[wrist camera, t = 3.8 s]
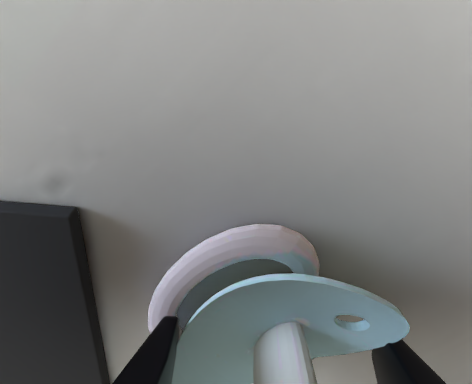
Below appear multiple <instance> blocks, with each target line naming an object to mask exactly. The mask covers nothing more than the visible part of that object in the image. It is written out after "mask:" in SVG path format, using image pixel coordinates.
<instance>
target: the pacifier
mask: <svg viewBox="0 0 472 384" xmlns="http://www.w3.org/2000/svg"><path fill="white" fill-rule="evenodd" d="M251 259H272V260H275V261H278V262H281V263H283V264H286V265H287V266H288V267H289V268H290V269H291V270H292V271H293V272H294V273H291V274H269V275H262V276H257V277H253V278H249V279H246V280H243V281H240V282H237V283H235V284H233V285H230V286H228V287H227V288H225V289H223V290H221V291H220V292H218V293H216V294H215V295H213V296H212V297H211V298H210V299H208V300H207V301H206V302H205V303H204V304H203V305H202V306H201V307H200V308H199V309H198V310H197V311H196V312H195V313H194V315H193V316H192V317H191V318H190V320H189V321H188V323H187V324H186V326H185V328H184V330H182V329H181V327H180V326H179V339H178V343H177V350H176V359H175V365H174V371H173V377H172V383H171V384H252V383H254V384H317V381H316V377H315V373H314V369H313V364H312V359H314V358H316V357H324V356H334V355H344V354H349V353H357V352H362V351H366V350H372V349H375V348H379V347H383V346H385V345H386V344H387V343H395V342H397V341H399V340H401V339H402V338H404V337H406V335H407V334H408V333H409V329H410V326H409V324H408V322H407V321H406V319H405V318H404V316H403V314H402V313H401V312H400V310H399V309H397V308H396V307H395V306H394V305H393V304H392V303H390V302H389V301H387V300H385V299H383V298H381V297H379V296H377V295H375V294H373V293H371V292H369V291H367V290H365V289H362V288H359V287H356V286H353V285H350V284H347V283H344V282H340V281H337V280H333V279H329V278H325V277H319V264H320V262H319V260H318V257H317V254H316V251H315V249H314V246H313V245H312V244H311V243H310V242H309V241H308V240H307V239H306V238H305V237H304V236H303V235H302V234H301V233H299V232H296V231H294V230H291V229H289V228H286V227H284V226H281V225H272V224H252V225H246V226H241V227H236V228H231V229H229V230H226V231H224V232H222V233H219V234H217V235H214V236H212V237H210V238H207V239H206V240H204V241H203V242H201V243H200V244H198V245H197V246H195V247H194V248H192V249H191V250H189V251H188V252H186V253H185V254H184V255H183V256H182V257H181V258H180V259H179V260H178V261H177V262H176V263H175V264H174V265H173V266H172V267H171V268H170V269H169V270H168V271H167V272H166V274H165V275H164V277H163V278H162V280H161V281H160V283H159V284H158V286H157V287H156V289H155V291H154V293H153V296H152V299H151V302H150V305H149V308H148V328H149V331H150V334H151V332H152V331H153V330H154V329H155V327H156V326H157V325H158V323H159V322H160V321H161V319H162V318H163V317H164V316H176V317H177V315H176V313H177V310H178V308H179V306H180V304H181V303H182V301H183V300H184V299H185V297H186V296H187V294H188V293H189V292H190V291H191V290H192V289H193V288H194V287H195V286H196V285H197V284H199V283H200V282H201V281H202V280H203V279H204V278H206V277H208V276H209V275H211V274H212V273H214V272H216V271H217V270H219V269H222V268H224V267H226V266H229V265H231V264H234V263H237V262H241V261H246V260H251ZM339 315H354V316H358V317H361V318H363V319H364V320H362V321H359V322H347V321H342V320H339V319H337V318H335V317H337V316H339Z"/></svg>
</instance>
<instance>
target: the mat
mask: <svg viewBox="0 0 472 384" xmlns="http://www.w3.org/2000/svg"><path fill="white" fill-rule="evenodd" d="M0 384H110V383H109V378H108V372H107V367H106V361H105V356H104V350H103V345H102V339H101V334H100V328H99V323H98V318H97V312H96V307H95V301H94V296H93V290H92V285H91V279H90V274H89V268H88V263H87V257H86V252H85V246H84V241H83V235H82V230H81V224H80V219H79V213H78V209H77V208H76V207H66V206H54V205H42V204H29V203H17V202H4V201H0Z"/></svg>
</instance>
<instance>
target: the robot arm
mask: <svg viewBox="0 0 472 384" xmlns="http://www.w3.org/2000/svg"><path fill="white" fill-rule="evenodd" d="M178 339H179V318H178V317H176V316H164V317H163V318H162V319H161V321H160V322H159V323H158V325H157V326H156V327H155V329H154V330H153V331H152V332H151V334H150V335H149V336H148V338H147V339H146V340H145V342H144V343H143V344H142V346H141V347H140V348H139V349H138V351H137V352H136V353H135V355H134V356H133V357H132V359H131V360H130V361H129V363H128V364H127V365H126V366H125V368H124V369H123V370H122V372H121V373H120V374H119V376H118V377H117V378H116V380H115V381H114V382H113V383H112V384H171V383H172V377H173V371H174V365H175V359H176V350H177V343H178ZM372 360H373V365H374V369H375V374H376V378H377V383H378V384H446V383H445V382H444V381H443V380H442V379H441V378H440V377H439V376H438V375H437V374H436V373H435V372H434V371H433V370H432V369H431V368H430V367H429V366H428V365H427V364H426V363H425V362H424V361H423V360H422V359H421V358H420V357H419V356H418V355H417V354H416V353H415V352H414V351H413V350H412V349H411V348H410V347H409V346H408V345H407V344H406V343H405V342H404V341H403V340H402V339H401V340H399V341H397V342H395V343H387V344H386V345H385V346H383V347H379V348H375V349H373V350H372Z"/></svg>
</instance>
